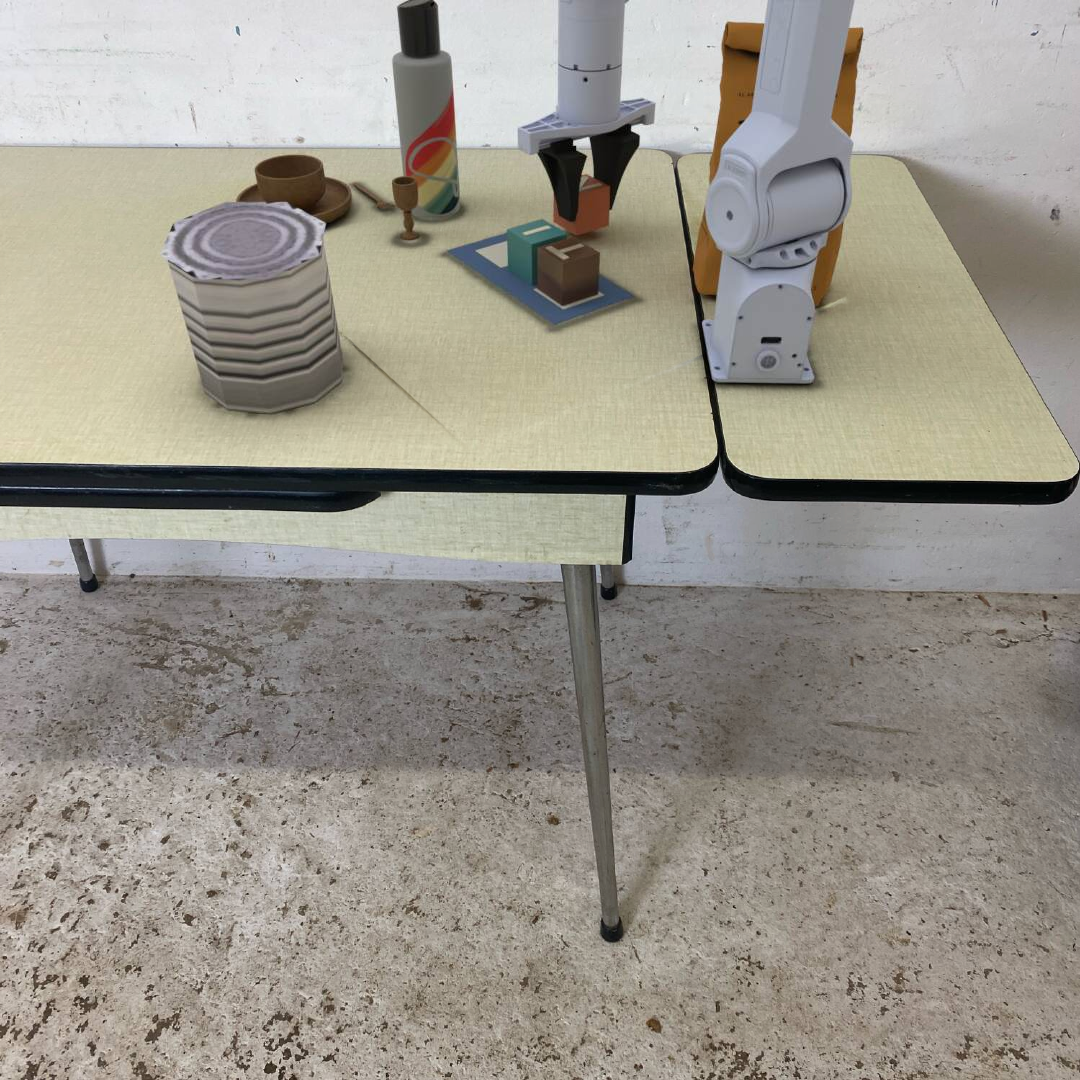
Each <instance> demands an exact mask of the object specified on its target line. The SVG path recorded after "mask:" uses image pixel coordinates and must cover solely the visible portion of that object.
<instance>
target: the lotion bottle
mask: <svg viewBox="0 0 1080 1080" xmlns="http://www.w3.org/2000/svg"><path fill="white" fill-rule="evenodd" d="M396 12H397V21H398V32H399V33H398V35H399V42H400V51H399V52H397V53H395V54H394V55H393V56H392V59H391V63H392V64H391V65H392V75H393V84H394V85H393V87H394V96H395V105H396V106H395V107H396V115H397V116H396V117H397V126H398V127H397V128H398V136H399V145H400V146H399V147H400V154H401V166H402V176H411V177H414V178H416V179H417V185H418V204H417V206H416V207H415V208H414V209H413V210H411V211H412V216H414V217H418V218H424V219H440V218H446V217H449V216H452V215H454V214H456V213H458V211H459V210H460V208H461V196H460V195H461V194H460V193H461V191H460V176H459V159H458V158H459V157H458V141H457V127H456V126H457V125H456V112H455V111H456V110H455V95H454V94H455V93H454V79H453V78H454V77H453V65H452V64H453V63H452V57H451V54H450V53H449V52H448V51H445V50H442V49H441V33H440V32H441V31H440V15H439V4H438V3H437V2H436V1H435V0H405V1H403V2H401V3H399V4H398V5H397V6H396Z"/></svg>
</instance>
